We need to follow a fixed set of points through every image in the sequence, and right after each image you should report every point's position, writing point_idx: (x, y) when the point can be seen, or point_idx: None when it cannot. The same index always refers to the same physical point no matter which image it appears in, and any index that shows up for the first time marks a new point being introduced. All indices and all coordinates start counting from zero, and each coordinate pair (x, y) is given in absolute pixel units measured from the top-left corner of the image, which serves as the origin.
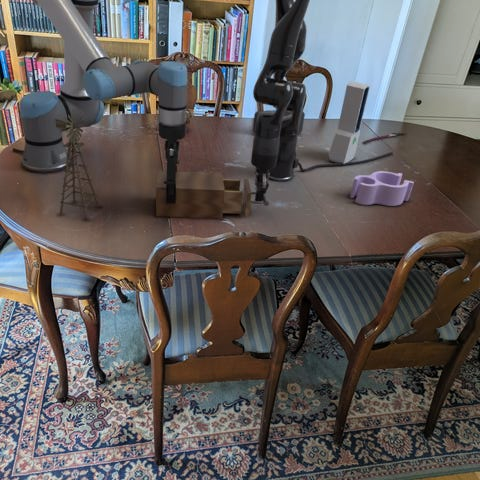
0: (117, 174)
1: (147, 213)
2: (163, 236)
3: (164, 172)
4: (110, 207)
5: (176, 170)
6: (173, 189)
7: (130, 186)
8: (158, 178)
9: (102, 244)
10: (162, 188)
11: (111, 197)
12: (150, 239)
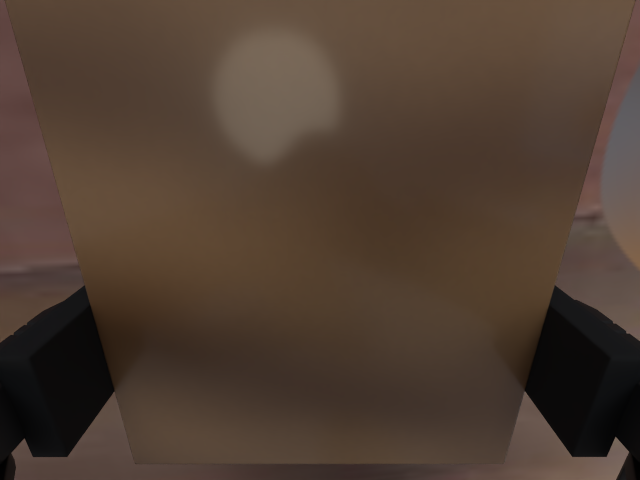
0: (17, 474)
1: None
2: (622, 256)
3: (162, 418)
4: (335, 466)
5: (83, 316)
6: (634, 339)
7: (121, 420)
8: (314, 456)
9: (617, 459)
10: (510, 411)
11: (247, 471)
12: (632, 310)
